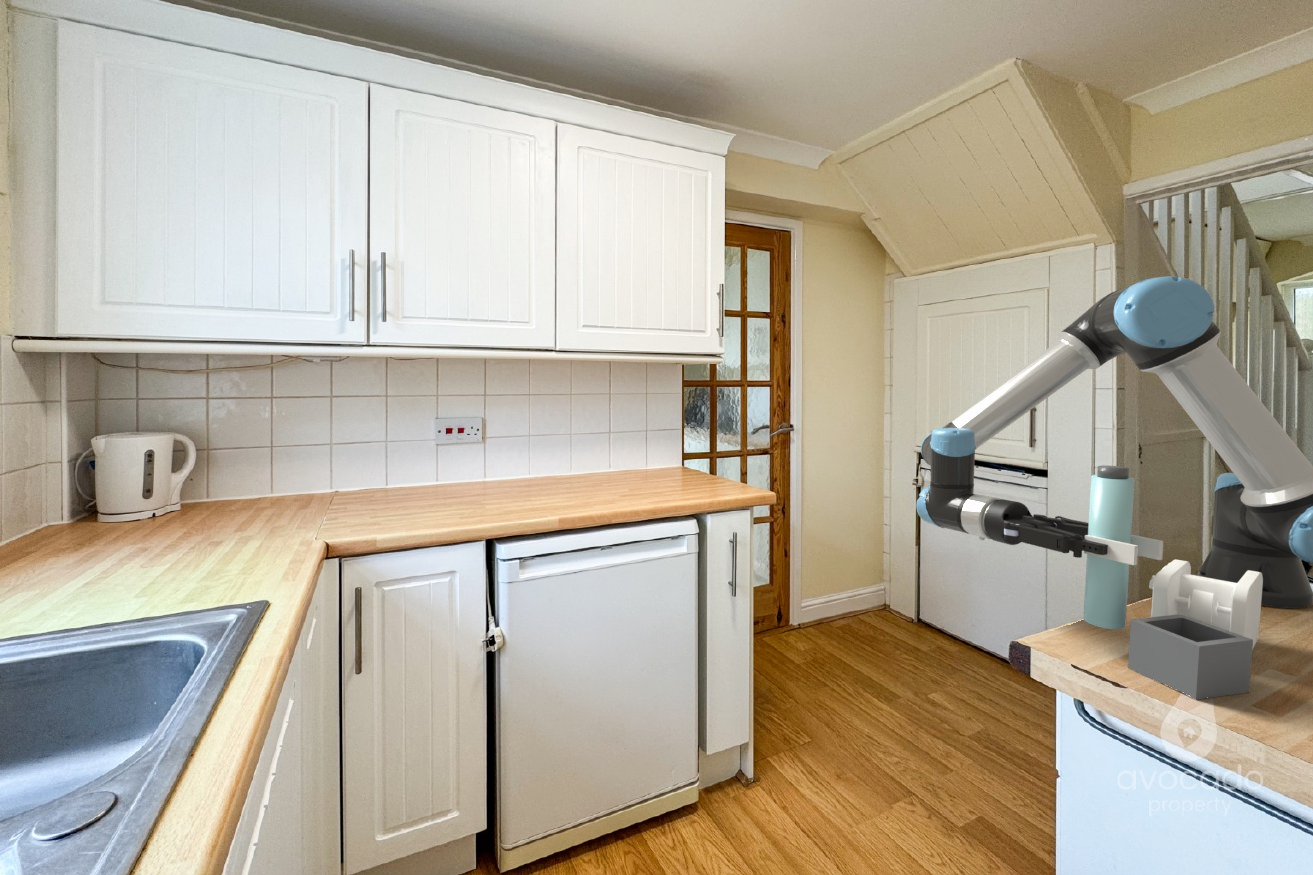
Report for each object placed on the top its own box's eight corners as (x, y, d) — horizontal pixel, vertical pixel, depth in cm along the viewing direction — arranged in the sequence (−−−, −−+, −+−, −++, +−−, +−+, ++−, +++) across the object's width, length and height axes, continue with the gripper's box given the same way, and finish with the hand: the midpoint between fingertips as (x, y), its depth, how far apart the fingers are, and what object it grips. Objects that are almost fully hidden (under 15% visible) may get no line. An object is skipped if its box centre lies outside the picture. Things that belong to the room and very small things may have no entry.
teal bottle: (1101, 614, 89) (1110, 464, 87) (1134, 627, 84) (1144, 468, 82) (1074, 617, 88) (1083, 465, 86) (1106, 630, 83) (1116, 470, 81)
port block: (1177, 661, 83) (1180, 614, 82) (1249, 691, 74) (1253, 639, 74) (1127, 667, 81) (1130, 619, 80) (1195, 699, 73) (1199, 646, 72)
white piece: (1243, 674, 79) (1249, 592, 78) (1144, 648, 87) (1148, 573, 86) (1259, 644, 88) (1265, 569, 87) (1168, 622, 96) (1172, 554, 95)
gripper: (1031, 534, 106) (1186, 570, 84) (958, 546, 99) (1105, 588, 78) (1033, 494, 105) (1188, 520, 83) (959, 503, 99) (1107, 533, 77)
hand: (1148, 552), depth 80 cm, fingers closed on teal bottle, 5 cm apart
